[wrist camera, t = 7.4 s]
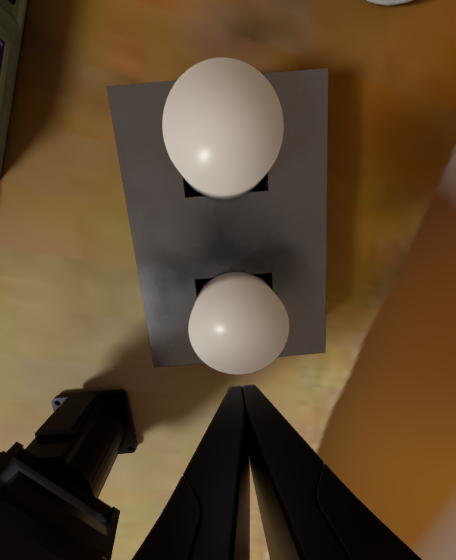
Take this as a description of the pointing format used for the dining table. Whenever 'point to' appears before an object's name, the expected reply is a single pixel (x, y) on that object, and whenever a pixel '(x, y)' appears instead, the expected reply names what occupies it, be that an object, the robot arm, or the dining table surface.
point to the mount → (227, 217)
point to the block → (388, 2)
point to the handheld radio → (9, 59)
